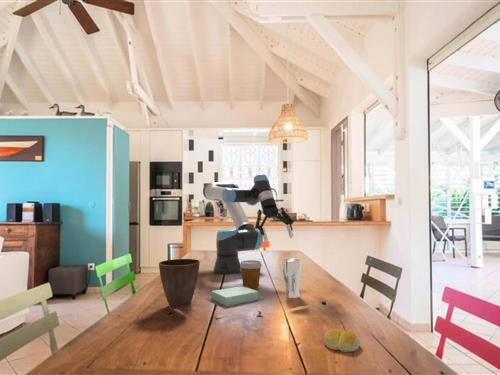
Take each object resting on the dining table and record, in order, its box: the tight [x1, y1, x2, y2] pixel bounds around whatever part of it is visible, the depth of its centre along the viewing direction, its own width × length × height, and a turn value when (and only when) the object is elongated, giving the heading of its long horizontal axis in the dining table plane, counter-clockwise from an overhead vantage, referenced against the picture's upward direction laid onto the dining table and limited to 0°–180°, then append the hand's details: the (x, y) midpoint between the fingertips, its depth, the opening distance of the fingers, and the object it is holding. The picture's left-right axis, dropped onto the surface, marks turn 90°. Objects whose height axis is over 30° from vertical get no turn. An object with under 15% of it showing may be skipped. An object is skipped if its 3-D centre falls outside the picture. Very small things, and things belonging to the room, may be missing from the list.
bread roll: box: [323, 328, 361, 353], centre depth 91 cm, size 8×9×4 cm
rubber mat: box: [205, 296, 266, 309], centre depth 131 cm, size 14×18×1 cm
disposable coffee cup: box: [240, 259, 263, 290], centre depth 149 cm, size 10×10×12 cm
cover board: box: [211, 285, 259, 306], centre depth 131 cm, size 11×14×3 cm
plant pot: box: [158, 258, 201, 309], centre depth 127 cm, size 15×15×16 cm
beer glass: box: [282, 257, 302, 299], centre depth 136 cm, size 7×7×15 cm
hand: (279, 239), depth 167 cm, fingers open, 13 cm apart
